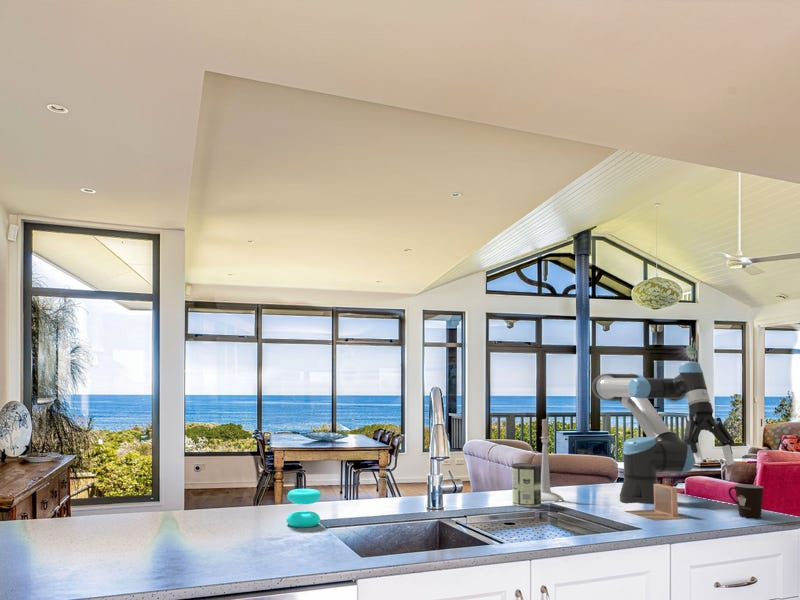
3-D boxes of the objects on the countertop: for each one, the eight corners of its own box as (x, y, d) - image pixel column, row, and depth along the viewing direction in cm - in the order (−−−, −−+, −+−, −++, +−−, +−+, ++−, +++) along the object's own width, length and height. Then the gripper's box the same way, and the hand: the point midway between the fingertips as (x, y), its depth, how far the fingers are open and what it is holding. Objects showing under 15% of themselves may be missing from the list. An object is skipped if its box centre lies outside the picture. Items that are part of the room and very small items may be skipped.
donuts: (318, 487, 213) (322, 492, 204) (318, 520, 212) (322, 527, 203) (286, 488, 211) (289, 493, 201) (285, 522, 210) (287, 528, 200)
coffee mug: (769, 519, 225) (768, 488, 226) (743, 519, 225) (741, 487, 226) (752, 512, 236) (751, 483, 237) (727, 512, 236) (725, 482, 238)
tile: (654, 511, 232) (653, 483, 234) (659, 510, 233) (658, 483, 234) (672, 516, 224) (671, 487, 225) (677, 515, 225) (676, 487, 226)
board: (623, 513, 231) (623, 511, 232) (658, 511, 236) (658, 509, 236) (655, 523, 216) (655, 520, 216) (691, 520, 221) (691, 518, 221)
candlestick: (561, 496, 264) (560, 417, 267) (565, 502, 251) (563, 419, 255) (527, 495, 265) (526, 417, 269) (529, 501, 253) (528, 418, 256)
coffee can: (532, 501, 252) (532, 462, 254) (546, 506, 242) (546, 466, 244) (507, 502, 249) (506, 463, 251) (519, 507, 239) (519, 466, 241)
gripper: (678, 397, 237) (694, 458, 227) (734, 403, 245) (751, 462, 235) (664, 404, 243) (678, 464, 233) (718, 410, 251) (735, 468, 241)
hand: (715, 463), depth 234 cm, fingers open, 13 cm apart
